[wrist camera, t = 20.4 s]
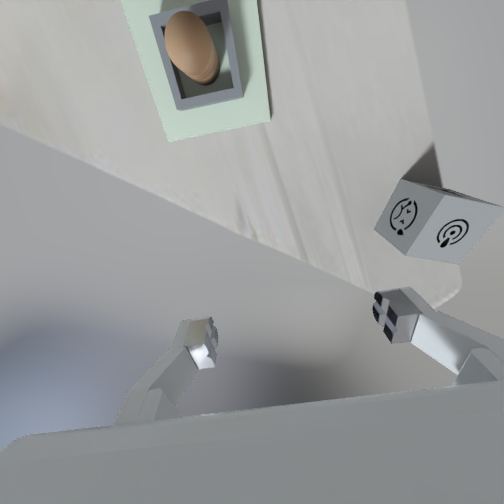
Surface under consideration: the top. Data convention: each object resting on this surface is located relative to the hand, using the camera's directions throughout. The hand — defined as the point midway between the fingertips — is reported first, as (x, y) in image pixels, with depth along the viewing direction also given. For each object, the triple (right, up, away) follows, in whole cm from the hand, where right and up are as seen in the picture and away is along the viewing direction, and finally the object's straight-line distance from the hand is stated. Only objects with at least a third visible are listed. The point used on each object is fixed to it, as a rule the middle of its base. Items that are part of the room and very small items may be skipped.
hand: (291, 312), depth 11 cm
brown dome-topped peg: (-8, +28, +18) cm, 34 cm away
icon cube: (+28, +11, +31) cm, 43 cm away
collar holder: (-9, +29, +19) cm, 35 cm away
